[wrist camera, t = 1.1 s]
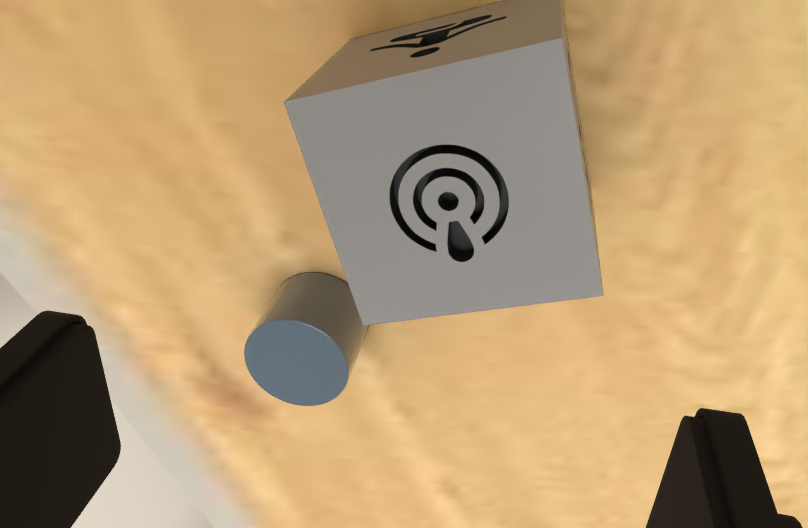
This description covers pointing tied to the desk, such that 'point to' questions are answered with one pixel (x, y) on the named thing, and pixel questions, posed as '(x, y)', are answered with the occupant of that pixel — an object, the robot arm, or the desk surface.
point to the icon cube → (453, 164)
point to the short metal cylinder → (306, 340)
